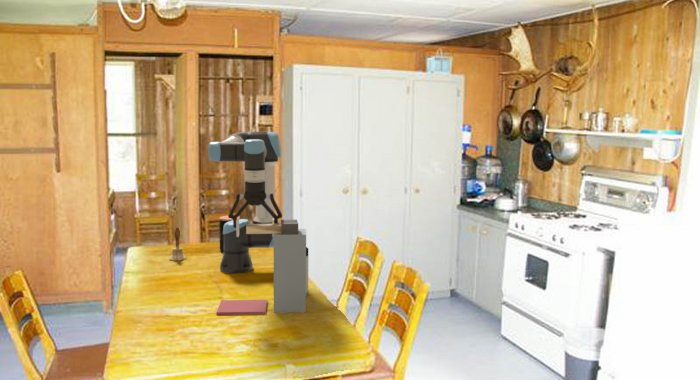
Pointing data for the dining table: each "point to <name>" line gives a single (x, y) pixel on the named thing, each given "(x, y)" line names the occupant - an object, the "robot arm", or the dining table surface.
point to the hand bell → (177, 248)
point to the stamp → (274, 228)
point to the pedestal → (290, 272)
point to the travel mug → (306, 271)
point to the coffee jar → (221, 224)
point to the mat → (242, 307)
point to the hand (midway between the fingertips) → (255, 235)
